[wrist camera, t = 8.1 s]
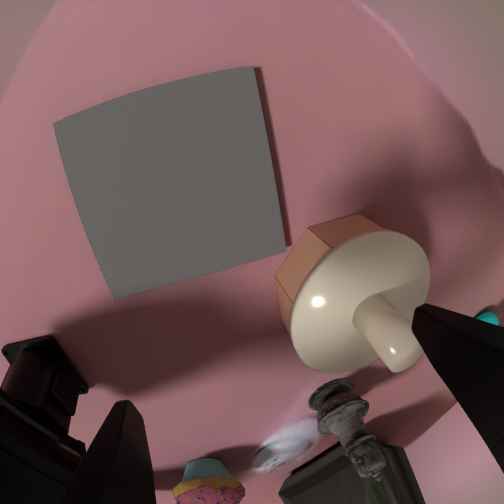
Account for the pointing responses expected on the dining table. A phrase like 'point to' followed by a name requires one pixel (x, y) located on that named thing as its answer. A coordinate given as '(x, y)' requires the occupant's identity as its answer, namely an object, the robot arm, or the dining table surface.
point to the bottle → (353, 481)
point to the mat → (174, 180)
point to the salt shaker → (348, 425)
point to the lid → (361, 304)
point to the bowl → (314, 255)
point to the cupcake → (208, 484)
